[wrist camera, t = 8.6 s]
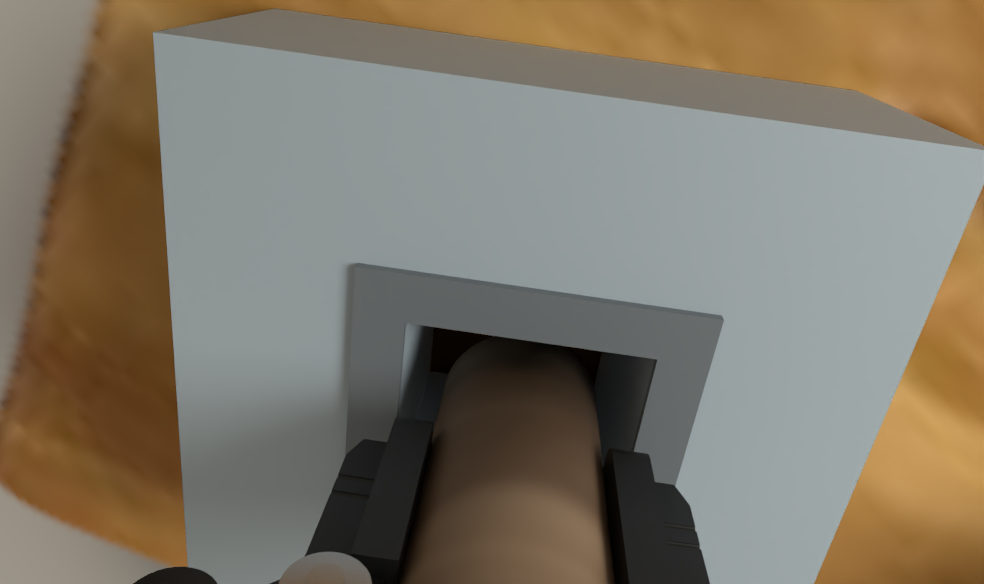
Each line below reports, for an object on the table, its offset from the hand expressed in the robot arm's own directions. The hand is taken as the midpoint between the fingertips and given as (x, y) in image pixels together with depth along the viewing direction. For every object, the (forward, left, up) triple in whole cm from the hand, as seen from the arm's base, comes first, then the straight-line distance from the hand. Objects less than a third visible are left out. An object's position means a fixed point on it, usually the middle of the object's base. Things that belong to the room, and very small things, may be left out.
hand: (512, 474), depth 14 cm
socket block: (0, 0, -7) cm, 7 cm away
